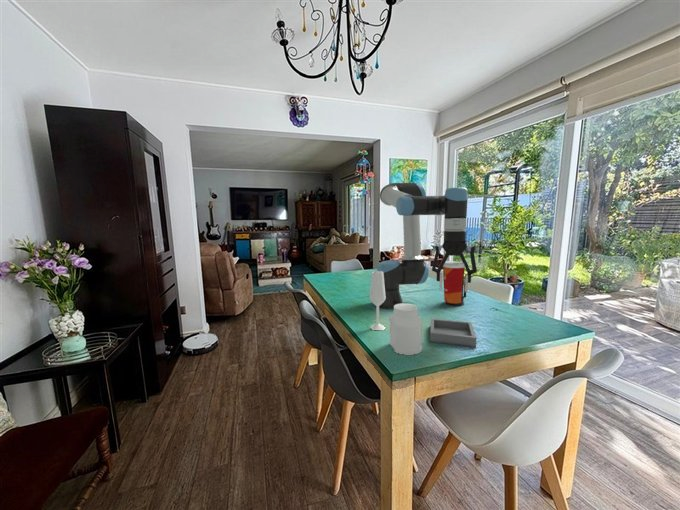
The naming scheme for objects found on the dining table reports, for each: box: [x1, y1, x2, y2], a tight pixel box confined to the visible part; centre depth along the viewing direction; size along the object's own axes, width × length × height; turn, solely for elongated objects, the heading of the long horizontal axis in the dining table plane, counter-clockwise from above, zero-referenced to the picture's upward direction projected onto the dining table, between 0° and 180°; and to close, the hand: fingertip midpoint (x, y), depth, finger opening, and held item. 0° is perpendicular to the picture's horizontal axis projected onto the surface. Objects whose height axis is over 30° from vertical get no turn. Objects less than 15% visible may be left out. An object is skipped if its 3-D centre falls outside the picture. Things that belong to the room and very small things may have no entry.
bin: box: [429, 318, 477, 348], centre depth 106 cm, size 15×15×4 cm
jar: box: [389, 302, 423, 356], centre depth 97 cm, size 12×10×15 cm
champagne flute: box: [369, 270, 386, 331], centre depth 115 cm, size 7×7×24 cm
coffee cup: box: [442, 260, 466, 304], centre depth 104 cm, size 8×8×15 cm
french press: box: [444, 260, 467, 307], centre depth 145 cm, size 12×9×23 cm
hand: (453, 290), depth 104 cm, fingers closed on coffee cup, 8 cm apart
